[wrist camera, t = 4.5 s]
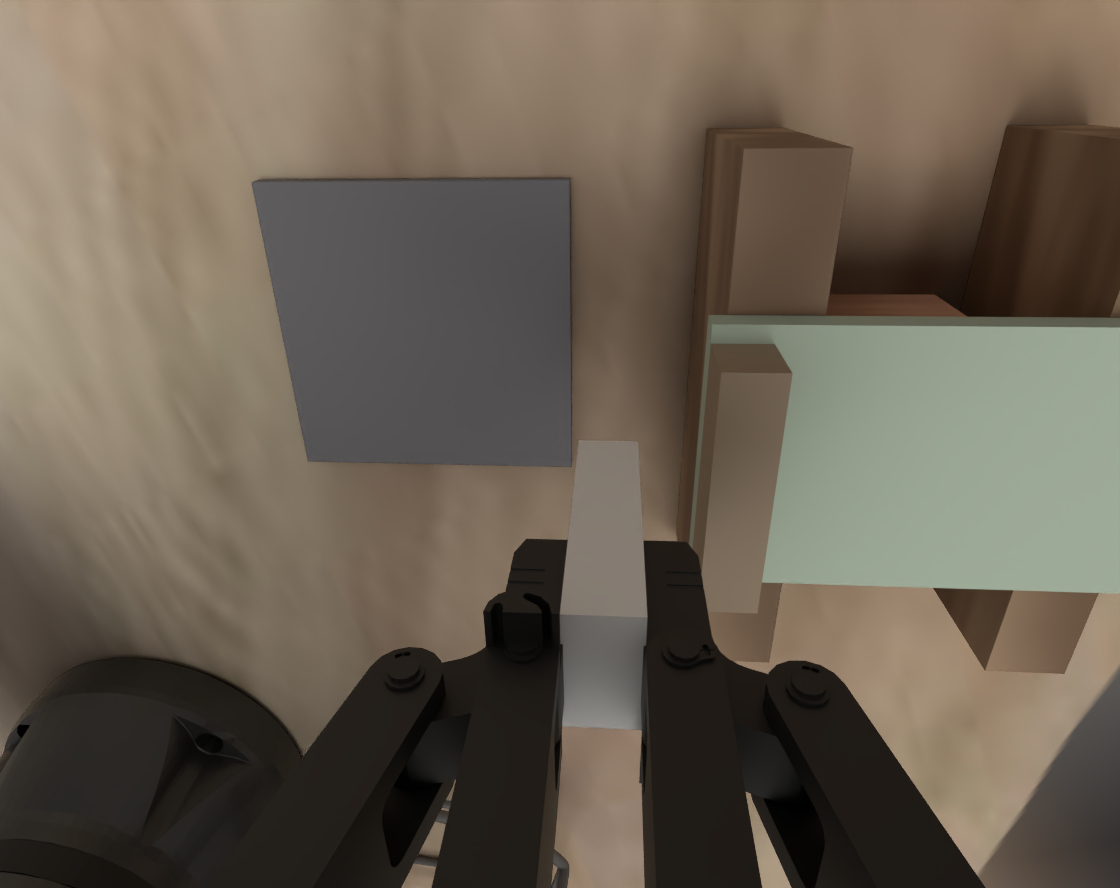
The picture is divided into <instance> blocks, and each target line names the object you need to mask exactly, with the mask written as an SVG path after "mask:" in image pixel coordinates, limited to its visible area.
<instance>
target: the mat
mask: <svg viewBox="0 0 1120 888" xmlns="http://www.w3.org/2000/svg"><path fill="white" fill-rule="evenodd" d="M252 187H253V192H254V197H255V202H256V207H257V212H258V217H259V222H260V227H261V232H262V237H263V241H264V246H265V251H266V256H267V261H268V266H269V271H270V276H271V281H272V286H273V291H274V296H275V301H276V306H277V311H278V316H279V321H280V326H281V331H282V336H283V341H284V345H285V350H286V355H287V360H288V365H289V370H290V375H291V380H292V385H293V390H294V395H295V400H296V405H297V410H298V415H299V420H300V425H301V430H302V435H303V440H304V445H305V449H306V454H307V459H308V461H313V462H360V463H407V464H454V465H502V466H549V467H571V466H572V356H571V200H570V178H491V179H324V180H257V181H254V182H252Z"/></svg>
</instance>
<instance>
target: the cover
mask: <svg viewBox="0 0 1120 888" xmlns="http://www.w3.org/2000/svg"><path fill="white" fill-rule="evenodd" d="M689 545H690V546H691V548H692V549H693V550H694V551H695V553H696V554H697V555H698V556H699V562H700V568H701V576H702V580H703V589H704V592H705V598H706V604H707V610H708V612H728V613H758V606H759V599H760V592H761V585H762V582H764V583H796V584H828V585H860V586H892V587H924V588H955V589H987V590H1019V591H1051V592H1083V593H1115V594H1120V318H1075V317H927V316H780V315H709V316H708V328H707V339H706V351H705V363H704V375H703V386H702V398H701V410H700V421H699V433H698V445H697V457H696V468H695V480H694V492H693V503H692V515H691V527H690V539H689Z"/></svg>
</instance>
